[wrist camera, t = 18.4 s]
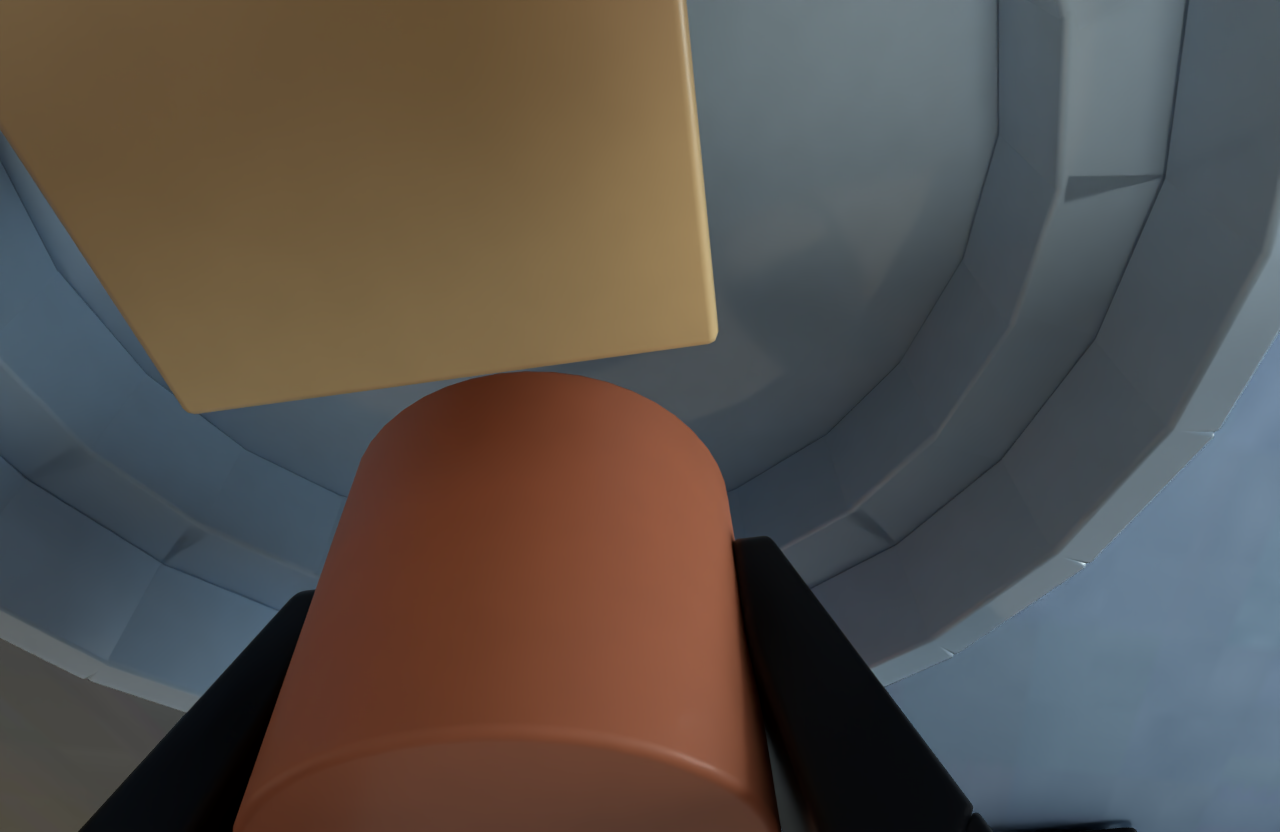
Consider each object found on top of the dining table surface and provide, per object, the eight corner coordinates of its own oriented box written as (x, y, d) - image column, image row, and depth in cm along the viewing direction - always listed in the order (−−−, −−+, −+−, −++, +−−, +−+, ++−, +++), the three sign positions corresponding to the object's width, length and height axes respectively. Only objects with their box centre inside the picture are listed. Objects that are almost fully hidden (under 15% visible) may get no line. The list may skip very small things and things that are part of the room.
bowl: (1017, 509, 15) (1125, 707, 12) (227, 604, 16) (136, 808, 13) (1380, -1077, 5) (2458, -2219, 2) (-678, -586, 6) (-1913, -910, 3)
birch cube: (679, 138, 10) (720, 346, 6) (327, 192, 10) (185, 419, 7) (624, -364, 7) (640, -478, 4) (136, -270, 7) (-285, -288, 4)
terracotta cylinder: (739, 607, 11) (791, 944, 8) (423, 642, 11) (352, 982, 8) (711, 340, 8) (774, 702, 5) (291, 397, 8) (109, 771, 5)
